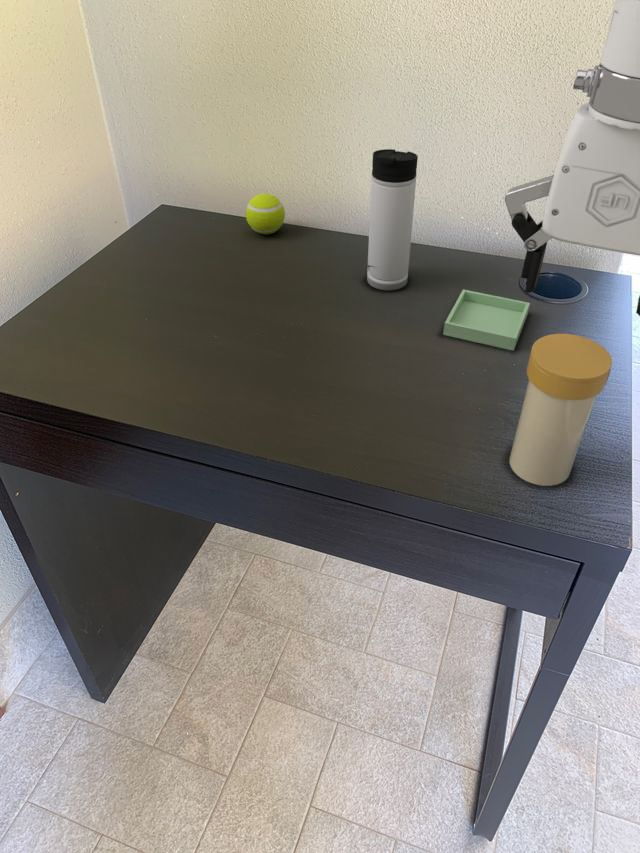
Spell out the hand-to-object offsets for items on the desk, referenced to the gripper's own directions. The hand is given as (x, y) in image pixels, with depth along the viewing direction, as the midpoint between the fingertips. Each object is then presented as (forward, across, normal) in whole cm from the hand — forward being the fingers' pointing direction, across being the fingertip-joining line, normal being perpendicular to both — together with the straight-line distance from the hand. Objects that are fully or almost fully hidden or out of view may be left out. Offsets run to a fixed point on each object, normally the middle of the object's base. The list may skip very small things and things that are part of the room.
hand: (585, 296), depth 62 cm
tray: (+21, -12, +25) cm, 35 cm away
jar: (+21, 0, 0) cm, 21 cm away
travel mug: (+22, -28, +31) cm, 48 cm away
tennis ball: (+22, -54, +39) cm, 70 cm away
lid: (+7, 0, 0) cm, 7 cm away
